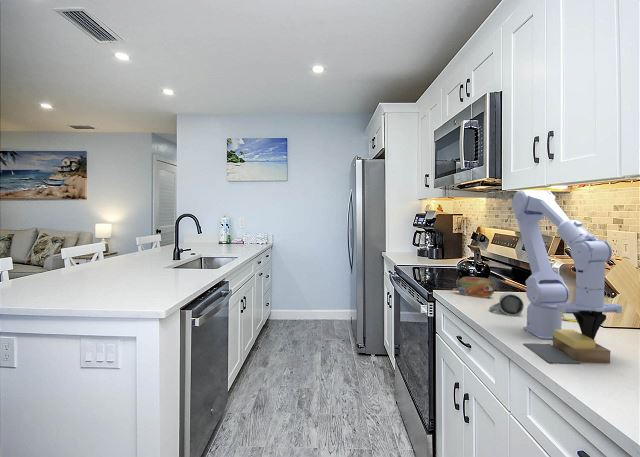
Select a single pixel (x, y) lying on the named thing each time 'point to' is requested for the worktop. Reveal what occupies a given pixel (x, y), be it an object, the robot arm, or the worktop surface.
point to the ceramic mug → (509, 304)
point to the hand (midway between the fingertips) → (588, 340)
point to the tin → (475, 287)
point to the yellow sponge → (574, 339)
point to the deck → (584, 352)
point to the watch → (568, 319)
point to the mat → (550, 353)
